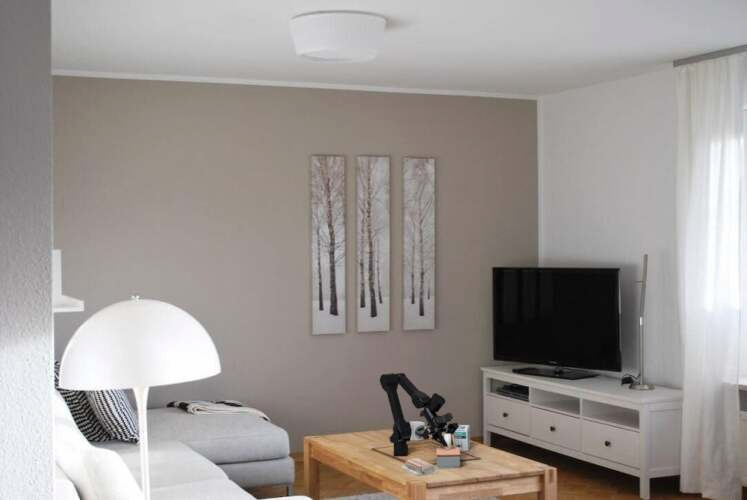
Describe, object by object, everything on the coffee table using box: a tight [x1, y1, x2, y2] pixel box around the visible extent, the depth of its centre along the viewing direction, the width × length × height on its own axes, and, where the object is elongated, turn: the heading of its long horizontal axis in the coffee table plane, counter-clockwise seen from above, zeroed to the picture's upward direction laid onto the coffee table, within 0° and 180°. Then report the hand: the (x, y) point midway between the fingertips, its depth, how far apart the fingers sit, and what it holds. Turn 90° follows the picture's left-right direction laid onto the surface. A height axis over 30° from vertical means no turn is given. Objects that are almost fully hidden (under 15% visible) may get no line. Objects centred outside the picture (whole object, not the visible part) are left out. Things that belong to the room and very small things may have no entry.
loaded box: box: [436, 454, 461, 469], centre depth 444 cm, size 10×10×5 cm
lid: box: [435, 433, 461, 457], centre depth 444 cm, size 10×10×9 cm
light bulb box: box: [453, 424, 471, 452], centre depth 480 cm, size 11×7×11 cm, turn 168°
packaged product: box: [401, 457, 439, 477], centre depth 435 cm, size 18×5×10 cm
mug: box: [409, 420, 426, 442], centre depth 506 cm, size 13×10×8 cm
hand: (449, 445), depth 443 cm, fingers closed on lid, 3 cm apart
